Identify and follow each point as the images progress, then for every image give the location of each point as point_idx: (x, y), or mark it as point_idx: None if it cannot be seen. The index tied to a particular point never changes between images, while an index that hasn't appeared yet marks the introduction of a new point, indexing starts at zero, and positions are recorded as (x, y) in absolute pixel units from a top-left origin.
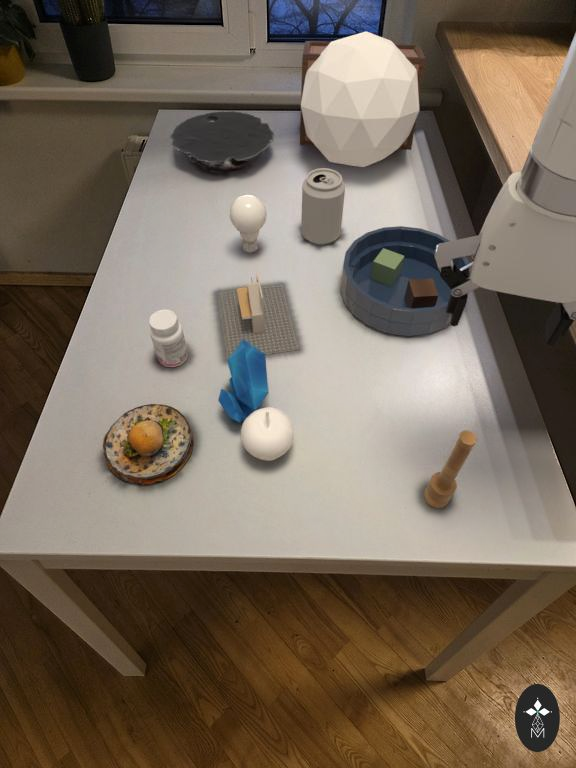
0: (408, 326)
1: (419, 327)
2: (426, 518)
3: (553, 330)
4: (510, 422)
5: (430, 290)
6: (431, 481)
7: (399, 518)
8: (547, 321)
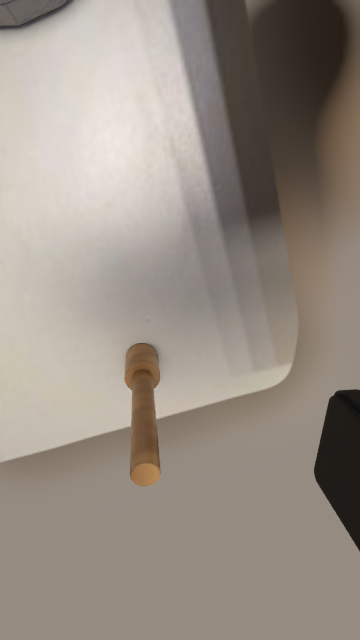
0: (3, 8)
1: (32, 2)
2: None
3: (354, 535)
4: (237, 209)
5: None
6: (126, 380)
7: (103, 394)
8: (341, 406)
